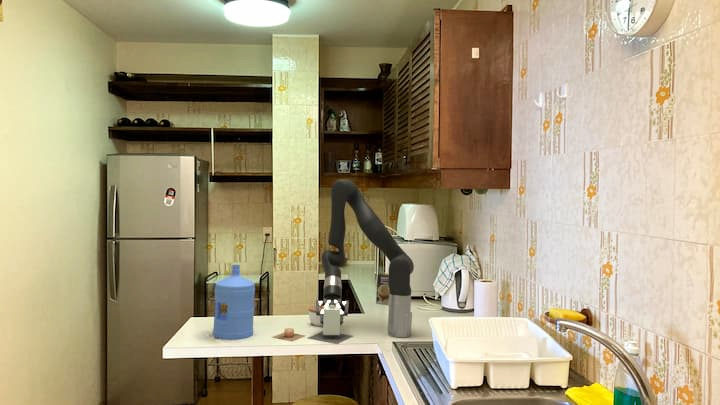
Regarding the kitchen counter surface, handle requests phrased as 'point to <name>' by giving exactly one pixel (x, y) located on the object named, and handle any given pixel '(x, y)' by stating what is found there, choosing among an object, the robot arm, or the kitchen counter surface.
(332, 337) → the mat
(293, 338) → the coaster
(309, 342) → the kitchen counter surface
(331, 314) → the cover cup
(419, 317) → the kitchen counter surface
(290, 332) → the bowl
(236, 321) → the water jug
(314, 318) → the lidded jar
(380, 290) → the coffee box
